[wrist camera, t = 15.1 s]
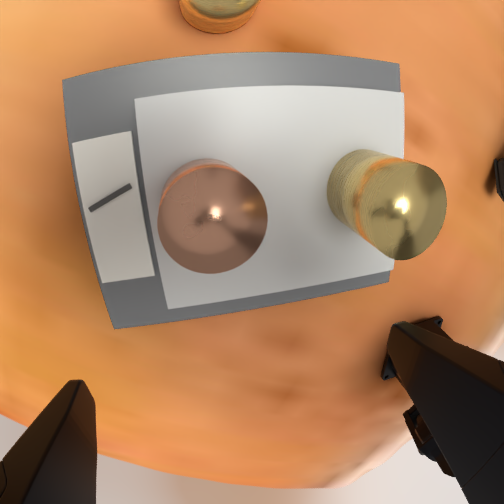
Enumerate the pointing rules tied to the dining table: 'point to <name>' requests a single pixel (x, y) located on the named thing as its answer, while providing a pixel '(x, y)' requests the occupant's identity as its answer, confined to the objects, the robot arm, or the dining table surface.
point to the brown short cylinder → (211, 217)
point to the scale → (237, 155)
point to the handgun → (499, 176)
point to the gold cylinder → (217, 14)
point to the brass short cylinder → (388, 201)
